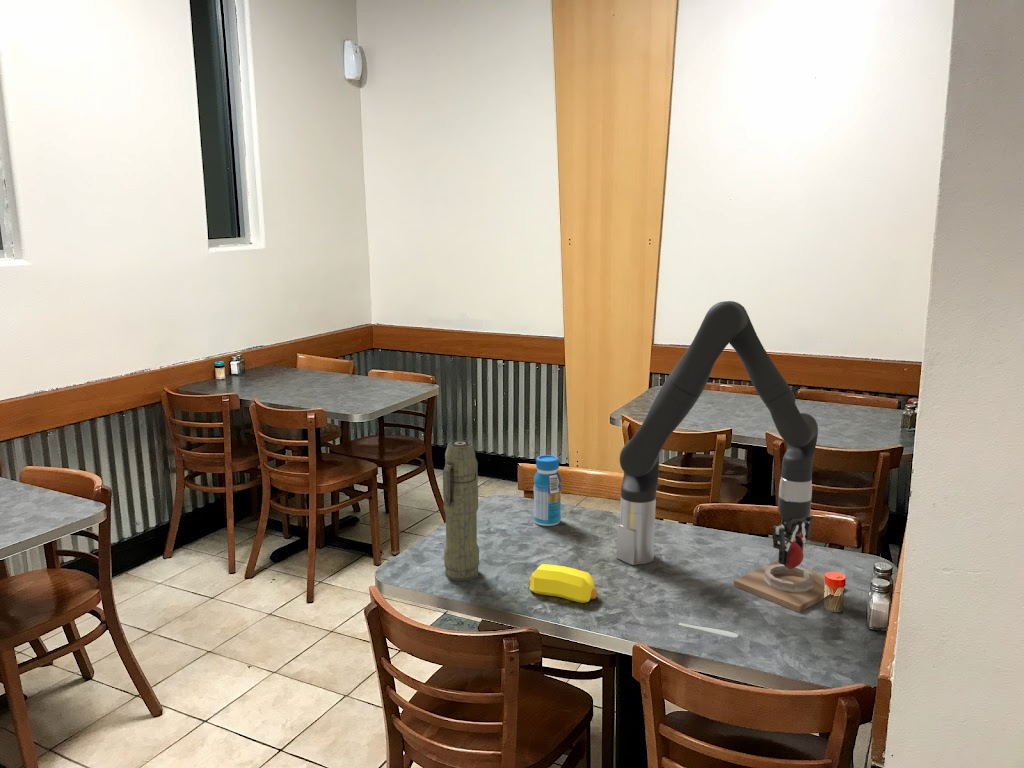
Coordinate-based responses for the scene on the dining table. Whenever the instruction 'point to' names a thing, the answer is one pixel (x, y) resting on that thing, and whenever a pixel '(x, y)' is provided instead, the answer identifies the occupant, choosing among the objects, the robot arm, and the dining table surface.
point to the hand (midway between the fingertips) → (790, 560)
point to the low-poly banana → (563, 583)
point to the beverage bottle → (547, 491)
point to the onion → (794, 555)
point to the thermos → (461, 511)
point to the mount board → (779, 595)
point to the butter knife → (712, 630)
